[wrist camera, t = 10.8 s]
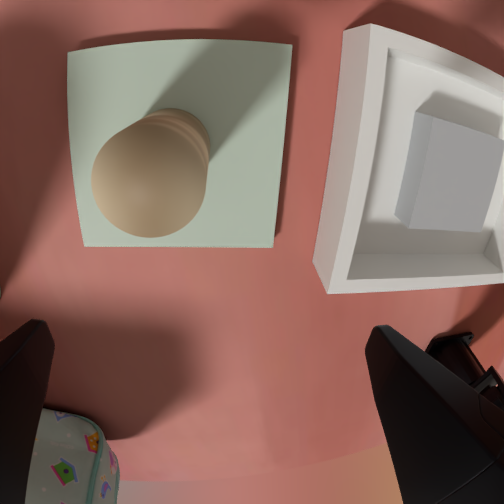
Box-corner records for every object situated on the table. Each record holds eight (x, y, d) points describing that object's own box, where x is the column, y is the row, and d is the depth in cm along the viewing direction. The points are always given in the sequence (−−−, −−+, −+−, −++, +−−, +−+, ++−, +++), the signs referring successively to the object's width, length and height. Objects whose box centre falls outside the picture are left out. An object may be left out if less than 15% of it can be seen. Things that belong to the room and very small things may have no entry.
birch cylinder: (213, 109, 15) (209, 125, 10) (208, 187, 18) (204, 239, 13) (130, 108, 15) (88, 127, 10) (131, 186, 17) (96, 236, 12)
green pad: (289, 46, 15) (292, 44, 14) (270, 241, 21) (272, 247, 20) (73, 52, 13) (67, 52, 13) (88, 240, 19) (84, 246, 19)
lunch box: (-19, 415, 32) (-49, 523, 13) (-51, 374, 26) (-96, 493, 8) (128, 447, 35) (120, 591, 16) (106, 409, 29) (86, 590, 11)
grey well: (525, 100, 16) (556, 111, 13) (482, 260, 24) (505, 282, 21) (343, 30, 14) (370, 23, 11) (312, 261, 22) (327, 293, 19)
